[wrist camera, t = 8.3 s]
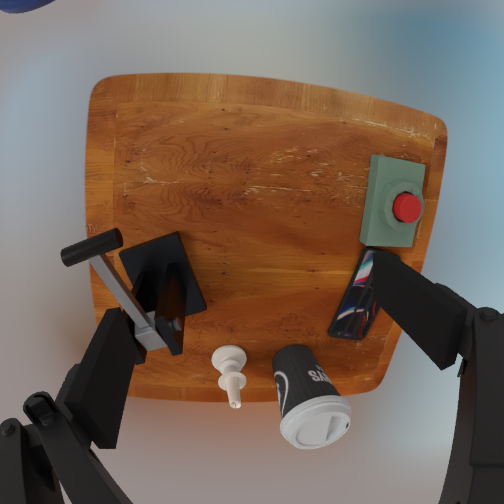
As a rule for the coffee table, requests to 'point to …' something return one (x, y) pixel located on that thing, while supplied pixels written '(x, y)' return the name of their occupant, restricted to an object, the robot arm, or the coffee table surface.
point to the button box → (390, 201)
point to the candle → (230, 371)
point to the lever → (115, 283)
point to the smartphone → (357, 302)
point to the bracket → (162, 288)
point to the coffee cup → (308, 400)
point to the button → (407, 207)
